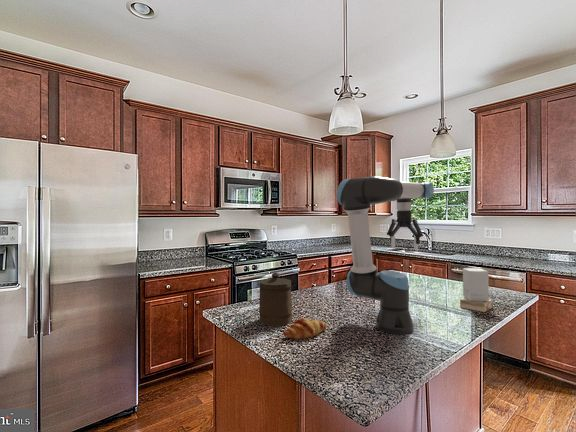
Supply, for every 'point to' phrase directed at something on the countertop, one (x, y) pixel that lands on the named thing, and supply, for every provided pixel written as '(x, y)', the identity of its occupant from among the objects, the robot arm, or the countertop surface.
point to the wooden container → (275, 301)
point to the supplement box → (476, 284)
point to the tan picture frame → (476, 304)
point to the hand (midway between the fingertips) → (404, 249)
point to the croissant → (305, 328)
